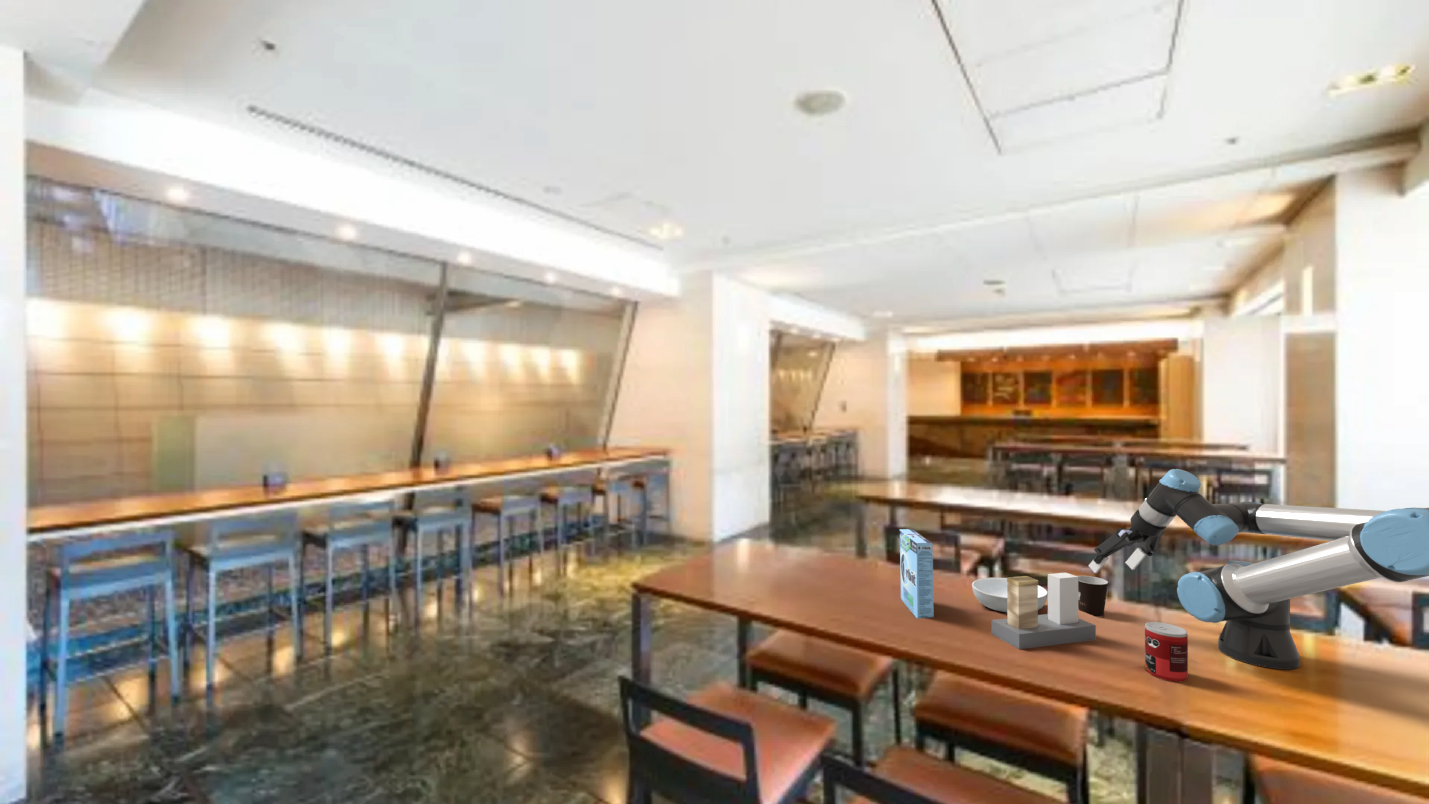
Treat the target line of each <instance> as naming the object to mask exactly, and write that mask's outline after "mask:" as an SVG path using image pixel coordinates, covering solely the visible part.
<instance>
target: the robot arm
mask: <svg viewBox="0 0 1429 804" xmlns="http://www.w3.org/2000/svg"><path fill="white" fill-rule="evenodd" d="M1201 486H1202V483H1201V481H1200V480H1199V478H1198V477H1197V476H1196V475H1194V474H1192V473H1191V472H1189V471H1186V470H1184V469H1180V468H1176V469H1175V468H1172V469H1169V470H1167V472H1166V473H1165V475H1164V476H1163V477H1162V478H1161V479H1159V481H1158V483H1157V484H1156V486H1154V488H1153V490H1152V491H1151V492H1150V493H1149V495H1148V496H1147V497H1146V498H1144V501H1143V502H1142V503H1141V505H1140V506H1139V507H1138V509H1137V510H1136V511H1135V512H1134V513H1133V514H1132V516H1131V517H1130V525H1131V526H1129V527H1128V528H1127V529H1124V527H1119V528H1118V529H1117V530H1116V531H1115V533H1113V534H1112V535H1110V536H1109V537H1108V538H1106V539H1105V540H1104V541H1103V542H1102V543H1100V544H1099V545H1097V546H1096V547H1095V548H1093V551H1094V552H1095V553H1096V555H1095V557H1093V559H1092V561H1091V562H1090V563H1089V564H1088V567H1089V569H1090V570H1092V572H1093V573H1094V574H1098V573H1099V571H1100V570H1101V569H1102V568H1103V566H1104V565H1105V564H1106V562H1108V560H1109V559H1110V558H1109V557H1110V556H1111V555H1113V554H1114V553H1117V552H1118V551H1120V550H1121V549H1123V548H1125V547H1130V546H1132V545H1133V544H1136V543H1137V544H1139V545H1140V547H1136V548H1135V550H1134V551H1133V552H1132V554H1131V555H1130V556H1129V557H1128V558H1127V560H1126V561H1125V564H1126V565H1127V566H1128V567H1129V568H1130V569H1131V570H1132V571H1134V570H1136V568H1137V567H1138V566H1139V565H1140V563H1141V562H1142V561H1143V560H1144V559H1145V558H1146V556H1148V557H1151V556H1153V555H1154V553H1157V551H1158V548H1159V544H1160V541H1161V538H1162V536H1163V535H1164V533H1165V531H1164V530H1165V529H1166V528H1167V527H1168V526H1169V525H1170V524H1171V523H1172V521H1173V520H1175V517H1176V516H1177V517H1178V518H1179V519H1181V521H1183V523H1184V524H1186V525H1187V526H1188V527H1189V529H1191V530H1192V531H1193V532H1194V533H1195V534H1196V535H1197V536H1198V537H1200V538H1201V539H1203V540H1204V541H1205V542H1206V543H1208V544H1209V545H1211V546H1220V545H1223V544H1227V543H1229V542H1230V541H1231V540H1233V539H1234V538H1235V537H1236V536H1238V535H1237V534H1243V533H1244V534H1246V533H1248V534H1257V535H1269V536H1270V535H1271V536H1280V537H1287V538H1288V537H1290V538H1298V539H1308V540H1318V541H1326V542H1323V543H1320V544H1317V545H1314V546H1309V547H1307V548H1303V549H1300V550H1297V551H1296V550H1295V551H1293V552H1290V553H1287V554H1283V555H1279V556H1276V557H1273V558H1269V559H1266V560H1262V561H1259V562H1256V563H1255V562H1249V561H1242V560H1233V559H1230V560H1228V561H1227V563H1226V564H1225V565H1220V566H1217V567H1214V568H1211V569H1207V570H1204V571H1191V572H1189V573H1186V574H1183V575H1182V576H1181V577H1180V578H1179V580H1178V582H1177V588H1176V593H1177V597H1178V599H1179V602H1180V604H1181V606H1182V608H1183V609H1184V610H1185V611H1186V612H1187V613H1188V614H1189V615H1190V616H1192V617H1193V618H1195V619H1196V620H1198V621H1200V622H1202V623H1203V622H1204V623H1213V624H1217V623H1221V622H1224V623H1225V624H1224V625H1223V628H1222V629H1221V632H1220V634H1219V637H1218V639H1217V644H1218V645H1217V647H1218V650H1219V652H1221V653H1222V654H1223V655H1226V656H1227V657H1230V658H1232V659H1235V660H1237V661H1240V662H1243V663H1247V664H1249V665H1254V666H1258V667H1262V668H1263V667H1264V668H1267V669H1277V670H1295V669H1298V668H1300V667H1301V656H1300V653H1299V651H1298V648H1297V646H1296V643H1295V640H1294V638H1293V636H1292V632H1291V599H1295V598H1299V597H1303V596H1308V595H1312V594H1316V593H1321V592H1324V591H1329V590H1330V591H1331V590H1333V589H1337V588H1341V587H1346V586H1350V585H1355V584H1359V583H1363V582H1367V581H1368V582H1369V581H1372V580H1376V579H1381V578H1382V579H1384V580H1387V581H1390V582H1393V583H1403V582H1404V583H1405V582H1408V581H1413V580H1417V579H1421V578H1426V577H1429V507H1406V508H1405V507H1404V508H1394V509H1390V510H1377V509H1357V508H1355V509H1354V508H1341V507H1325V506H1324V507H1323V506H1307V505H1290V504H1275V503H1274V504H1273V503H1272V504H1271V503H1261V502H1256V501H1242V502H1231V503H1230V502H1229V503H1214V504H1213V503H1211V501H1209V500H1207V498H1206V497H1204V496H1203V495H1202V493H1200V492H1199V490H1200V488H1201ZM1152 552H1153V553H1152Z"/></svg>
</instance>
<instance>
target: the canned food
mask: <svg viewBox="0 0 1429 804" xmlns="http://www.w3.org/2000/svg"><path fill="white" fill-rule="evenodd" d="M1188 636H1189V635H1188V631H1187V630H1186V629H1185V628H1182V627H1180V626H1178V625H1174V624H1171V623H1168V622H1167V623H1165V622H1159V621H1150V622H1146V623H1145V625H1144V665H1145V666H1144V667H1145V670H1146V672H1147V673H1149V675H1151V676H1152V677H1155V678H1158V679H1160V680H1164V681H1168V682H1174V683H1175V682H1176V683H1180V682H1181V683H1182V682H1185V681H1187V679H1188V677H1189V669H1188V668H1189V663H1188V660H1189V653H1188V651H1189V649H1188V648H1189V647H1188V645H1189V637H1188Z"/></svg>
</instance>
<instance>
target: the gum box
mask: <svg viewBox="0 0 1429 804" xmlns="http://www.w3.org/2000/svg"><path fill="white" fill-rule="evenodd" d="M933 548H934V547H933V542H931V541H929V540H928V539H927V538H926V537H924V536H923V535H921V534H920V533H919V532H917V531H916V530H915V529H912V528H909V529H908V528H906V529H905V528H903V529H901V528H900V529H899V553H900V554H899V556H900V557H899V558H900V561H899V563H900V570H899V571H900V575H899V576H900V599H901V601H902V602H903V603H904V605H905V606H906V608H908V610H909V611H910V612H911V614H913V616H914V617H915V618H916V619H918V620H919V619H930V618H934V616H935V615H934V614H935V613H934V611H935V610H934V609H935V608H934V604H935V603H934V559H933V558H934V555H933V551H934V550H933Z"/></svg>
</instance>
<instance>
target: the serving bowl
mask: <svg viewBox="0 0 1429 804" xmlns="http://www.w3.org/2000/svg"><path fill="white" fill-rule="evenodd" d="M1007 578H1008V577H984V578H979V579H976V580H974V581H973V582H972V583H971V588H972V592H973V594H974V596H975V598H976V599H977V601H978V602H980V604H982V605H983V606H985V607H987V608H989V609H991V610H993V611H997V612H1001V613H1006V614H1007ZM1047 601H1048V590H1046V589H1045V587H1043V586H1041V585H1039V584H1038V611H1039V610H1040V609H1042V608H1043V607H1044V606H1045V604H1046V602H1047Z"/></svg>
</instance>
